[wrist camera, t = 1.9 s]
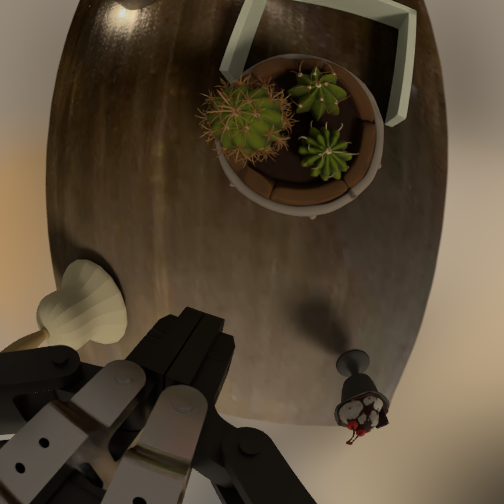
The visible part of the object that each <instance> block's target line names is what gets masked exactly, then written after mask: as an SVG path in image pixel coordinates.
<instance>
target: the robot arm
mask: <svg viewBox="0 0 504 504" xmlns="http://www.w3.org/2000/svg"><path fill="white" fill-rule="evenodd" d="M115 1H117V2H118V3H119V4H121V5H122V6H123V7H125V8H126V9H128V10H136V9H140V8H142V7H145V6H147V5H149V4H151V3H152V2H154V1H155V0H115ZM224 321H225V320H224V319H222V318H219V317H216V316H213V315H210V314H207V313H206V314H205V313H204V312H201V311H198V310H196V309H193V308H190V307H186V308H185V309H184V310H183V312H182V313H181V314H180V315H179V317H177V316H174V315H172V314H170V315H168V316H165V317H163V318H161V319H159V320H158V322H157V323H156V324H155V325H154V326H153V328H152V329H151V330H150V331H149V332H148V333H147V335H145V337H144V338H143V339H142V340H141V341H140V342H139V344H138V345H137V346H136V347H135V348H134V350H133V351H132V352H131V353H130V354H129V355H128V357H127V358H126V359H125V360H115V361H112V362H110V363H108V364H107V365H106V366H105V367H100V366H96V365H92V364H88V363H84V362H81V361H80V357H79V355H78V353H77V352H76V351H75V350H74V349H73V348H71V347H69V346H66V345H54V346H48V347H41V348H34V349H27V350H20V351H12V352H3V353H0V435H4V434H15V435H14V436H13V437H12V438H11V439H10V440H1V441H0V504H182V502H183V499H184V495H185V491H186V488H187V485H188V482H189V478H190V475H191V472H192V468H194V469H195V470H196V471H198V472H199V473H201V474H202V475H204V476H205V477H207V478H208V479H210V480H211V483H212V485H213V487H214V489H215V491H216V493H217V495H218V496H219V499H220V500H221V502H222V504H317V503H316V502H315V500H314V499H313V498H312V497H311V495H310V494H309V493H308V491H307V490H306V489H305V487H304V486H303V485H302V483H301V482H300V480H299V479H298V478H297V476H296V475H295V473H294V472H293V471H292V469H291V468H290V466H289V465H288V463H287V462H286V460H285V459H284V457H283V456H282V455H281V453H280V452H279V450H278V449H277V447H276V446H275V444H274V442H273V441H272V440H271V438H270V437H269V436H268V435H267V434H265V433H264V432H262V431H260V430H258V429H255V428H251V427H241V428H236V427H234V426H233V425H231V424H229V423H228V422H226V421H225V420H224V419H223V418H221V417H220V416H219V414H218V413H217V411H216V409H215V404H216V402H217V399H218V397H219V394H220V391H221V389H222V387H223V384H224V382H225V379H226V376H227V374H228V371H229V367H230V363H231V360H232V356H233V353H234V349H235V343H234V338H233V336H232V335H228V334H225V333H222V331H223V326H224ZM48 390H49V391H48ZM35 392H36V393H35ZM28 393H29V394H28Z"/></svg>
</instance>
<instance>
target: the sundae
mask: <svg viewBox="0 0 504 504" xmlns="http://www.w3.org/2000/svg"><path fill="white" fill-rule="evenodd" d="M368 365H369V357H368V355H367V354H366V353H364V352H362V351H357V350H354V351H350V352H347V353H345V354H344V355H342V356H341V357H340V358H339V360H338V362H337V370H338V372H339V373H340V374H341V375H343V376H345V377H349V378H347V379H346V380H345V382H344V384H343V388H342V397H341V403H340V404H339V405H338V406H337V407H336V409H335V413H334V414H335V420H336V422H337V423H338V425H340V426H343V427H348V429H350V430H353V437H354V434H355V431H356V435H357V437H358V436H363V435H365V433H367V432H370V431H371V430H373V429H374V427H376V428H380V427H383V426H385V425H387V424H388V423H389V422H388V419H387V417H386V414H387V413H388V408H389V401H388V399H387V398H386V397H385V396H384V395H382V394H381V393H379V392H378V390H377V388H376V386H375V384H374V382H373V381H372V380H371V378H370V377H369V376H368V375H366V374H362V373H363V372H364V371H365V370H366V369H367V368H368ZM353 437H352V438H353ZM357 437H356V438H357ZM352 438H351V439H352ZM356 438H355V439H356ZM351 439H350V440H349V441H347V442H346V444H349V445H351V444H352V442H353V441H354V440H353V441H352V442H350V441H351Z"/></svg>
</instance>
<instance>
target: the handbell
mask: <svg viewBox="0 0 504 504" xmlns="http://www.w3.org/2000/svg"><path fill="white" fill-rule="evenodd" d="M37 324H38V327H39V330H40V331H38V332H35V333H32V334H30V335H27V336H25V337H23V338H21V339H19V340H17V341H15V342H14V343H12V344H11V345H9V346H8V347H7V348H5V349H4V350H3V351H1V352H0V353H3V352H12V351H20V350H27V349H34V348H37V347H38V346H39V345H40V344H41V343H42V342H43V341H44V340H46V341H47V343H48V344H49V345H50V346H54V345H66V346H69V347H71V348H73V349H74V350H77V349H79V348H80V347H81V346H83V345H84V344H85V343H86V342H87V341H88V340H92V341H95V342H99V343H103V344H110V343H115V342H118V341H119V340H120V339H121V338H122V337H123V335H124V333H125V329H126V326H127V311H126V305H125V303H124V300H123V297H122V294H121V291H120V290H119V288H118V287H117V285H116V283H115V282H114V280H113V278H112V277H111V276H110V275H109V274H108V273H107V272H106V271H105V270H104V269H103V268H102V267H101V266H99V265H97V264H95V263H93V262H91V261H89V260H76V261H74V262H73V263H71V264H69V266H68V267H67V269H66V271H65V273H64V275H63V278H62V286H61V288H60V289H59V290H57V291H55V292H52V293H51V294H49V295H47V296H45V297H44V298H43V299H42V300H41V302H40V304H39V306H38V309H37Z"/></svg>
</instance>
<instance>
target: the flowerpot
mask: <svg viewBox="0 0 504 504" xmlns="http://www.w3.org/2000/svg"><path fill="white" fill-rule="evenodd" d="M230 78H231V77H230ZM230 78H229V79H230ZM235 78H236V77H235ZM220 79H221V78H220ZM221 80H222V79H221ZM222 81H223V80H222ZM232 81H234V80H232ZM223 82H224V81H223ZM223 82H222V83H223ZM228 82H229V80H228ZM228 82H227V85H226V83H225V82H224V83H225V84H224V83H223V84H224V86H214V87H220V88H221V87H223V88H224V89H225V90H224V89H223V88H221V91H223V90H224V91H223V93H222V92H220V91H218V90H217V93H218V92H219V94H218V95H221V97H218V96H217V97H215V96H216V95H215V94H214V97H212V91H211V93H210V90H209V93H210V95H209V96H211V97H212V98H211V97H209V96H207V95H205V94H202V95H205V96H207V97H209V98H210V99H205V100H206V101H207V102H210V101H208V100H211V101H212V102H210V103H207V102H205V103H207V104H209V105H210V104H211V103H213V104H212V105H213V108H212V109H213V110H212V109H211V108H210V107H211V106H212V105H211V106H210V107H208V108H207V109H209V108H210V109H211V110H212V111H207V113H210V114H209V115H208V114H207V115H208V116H207V115H206V114H205V113H204V111H203V113H204V114H203V113H202V112H201V111H200V110H199V109H198V110H199V111H200V112H201V113H202V114H203V115H205V116H206V117H199V116H196V115H195V116H196V117H199V118H205V119H204V120H205V121H206V120H207V121H209V122H210V123H209V122H207V123H208V125H209V124H212V127H210V126H209V127H210V128H211V129H210V128H209V127H208V128H209V129H208V128H206V127H205V126H203V125H201V126H202V127H204V128H205V129H208V130H210V131H207V133H209V132H210V133H211V134H212V133H213V135H211V134H210V133H209V134H208V135H209V137H210V136H212V137H213V138H215V140H214V149H213V150H217V154H218V156H217V157H219V160H220V163H221V166H222V168H223V170H224V172H225V174H226V176H227V177H228V179H229V180H230V186H232V187H236V188H237V189H238V190H239V191H240V192H241V193H242V194H243V195H245V196H246V197H247V198H249V199H251V200H252V201H254V202H255V203H257V204H259V205H261V206H263V207H265V208H267V209H270V210H273V211H276V212H279V213H283V214H287V215H293V216H308V217H309V218H310V219H315V218H316V216H317V215H321V214H326V213H329V212H332V211H334V210H336V209H338V208H340V207H342V206H344V205H346V204H347V203H349V202H351V201H352V200H354V199H355V198H356V197H357V196H358V195H359V194H360V193H361V192H362V191H363V190H364V189H365V188H366V187H367V186H368V185H369V184H370V183H371V181H372V180H373V178H374V177H375V174H376V172H377V169H380V168H381V163H380V161H381V157H382V151H383V134H384V127H383V120H382V117H381V114H380V111H379V109H378V106H377V103H376V101H375V99H374V96H373V95H372V93H371V92H370V91H369V89H368V88H367V87H366V85H365V84H364V83H363V82H362V81H361V80H360V79H358V78H357V77H356V76H355V75H353V74H352V73H351V72H349V71H348V70H346V69H345V68H343V67H341V66H339V65H337V64H335V63H333V62H331V61H328V60H326V59H323V58H319V57H315V56H310V55H304V54H284V55H278V56H274V57H271V58H268V59H266V60H263V61H261V62H259V63H257V64H255V65H254V66H252V67H250V68H249V69H247V70H246V71H245V72H243V71H242V73H241V75H240V76H239V77H238V78H236V80H235V81H234V82H233V83H232V84H231V85H230V86H229V87H228ZM225 85H226V86H225ZM217 93H216V94H217ZM221 93H222V94H221ZM200 94H201V93H200ZM205 103H204V104H205ZM209 105H208V106H209ZM204 120H202V121H201V122H203V121H204ZM205 121H204V122H205ZM201 122H200V123H201ZM207 123H205V124H206V125H207ZM203 124H204V123H203ZM199 125H200V124H199ZM208 125H207V126H208ZM203 133H205V134H207V133H206V132H203ZM205 134H203V135H202V136H204V135H205ZM202 136H201V137H202ZM201 137H200V138H201ZM213 138H211V139H209V138H208V140H210V141H211V140H212V139H213ZM208 140H206V141H208ZM215 145H216V149H215ZM217 157H216V158H217ZM214 159H215V158H214ZM347 188H348V189H347Z"/></svg>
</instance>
